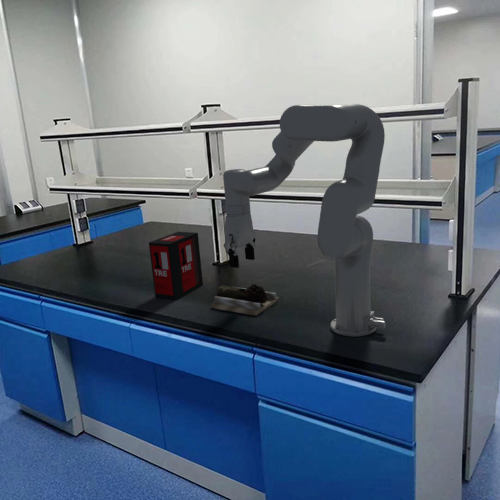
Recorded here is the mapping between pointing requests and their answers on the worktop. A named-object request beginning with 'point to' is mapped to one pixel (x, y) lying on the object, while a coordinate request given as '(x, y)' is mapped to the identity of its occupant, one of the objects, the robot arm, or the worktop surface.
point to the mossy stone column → (243, 293)
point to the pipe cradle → (244, 304)
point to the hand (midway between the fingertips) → (242, 263)
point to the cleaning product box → (176, 265)
